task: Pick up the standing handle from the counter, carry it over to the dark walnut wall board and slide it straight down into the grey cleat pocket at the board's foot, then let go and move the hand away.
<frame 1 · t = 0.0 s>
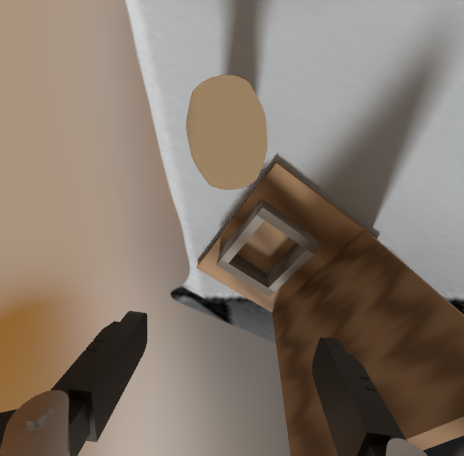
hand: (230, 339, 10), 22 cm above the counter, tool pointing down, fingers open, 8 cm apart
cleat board: (264, 240, 33), on the counter
handle: (237, 133, 27), on the counter
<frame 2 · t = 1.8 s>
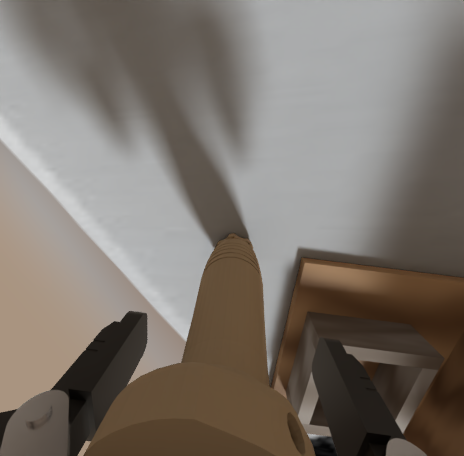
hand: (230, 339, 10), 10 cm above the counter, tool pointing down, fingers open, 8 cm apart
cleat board: (338, 352, 22), on the counter
handle: (234, 248, 19), on the counter
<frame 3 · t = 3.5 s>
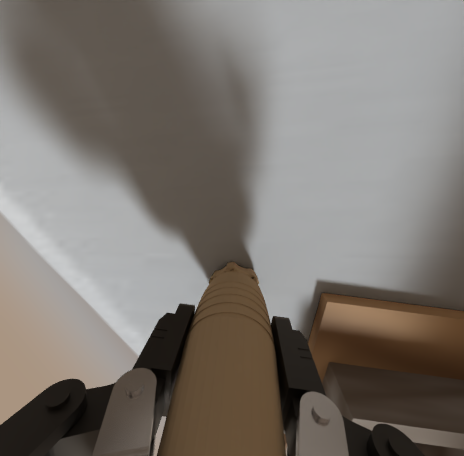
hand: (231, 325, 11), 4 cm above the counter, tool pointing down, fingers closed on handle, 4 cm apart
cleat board: (366, 407, 18), on the counter
handle: (235, 279, 15), on the counter, touching gripper
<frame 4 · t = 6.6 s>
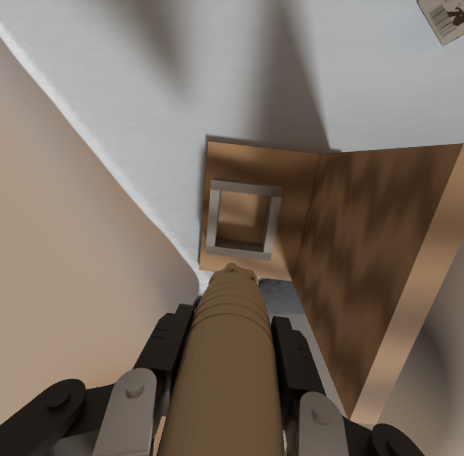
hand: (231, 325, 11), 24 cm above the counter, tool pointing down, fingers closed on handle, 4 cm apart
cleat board: (242, 214, 33), on the counter
handle: (234, 280, 15), point 19 cm above the counter, touching gripper
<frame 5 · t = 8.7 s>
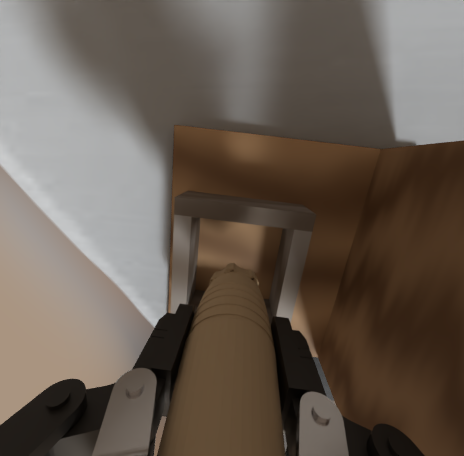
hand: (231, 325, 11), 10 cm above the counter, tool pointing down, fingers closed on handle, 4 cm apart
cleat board: (237, 251, 20), on the counter
handle: (235, 280, 15), point 5 cm above the counter, touching gripper
when the fingers open (6 cm above the counter, at t = 10.1 s): handle stays where it is, resting on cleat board.
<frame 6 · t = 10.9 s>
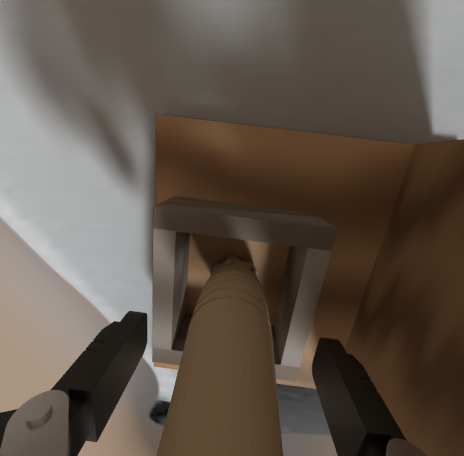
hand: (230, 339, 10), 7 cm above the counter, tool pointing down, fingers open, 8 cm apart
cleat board: (235, 267, 17), on the counter
handle: (235, 272, 16), point 1 cm above the counter, touching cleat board
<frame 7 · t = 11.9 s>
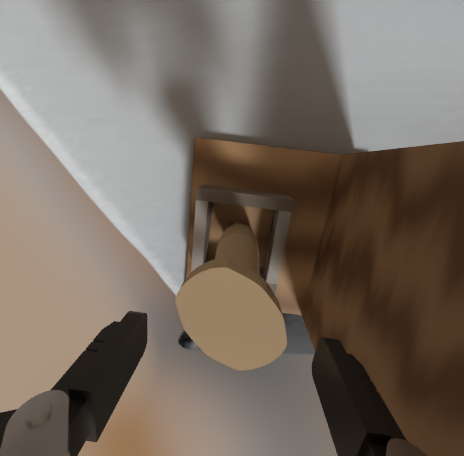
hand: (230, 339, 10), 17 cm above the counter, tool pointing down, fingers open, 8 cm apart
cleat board: (239, 231, 26), on the counter
handle: (239, 232, 26), point 1 cm above the counter, touching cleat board
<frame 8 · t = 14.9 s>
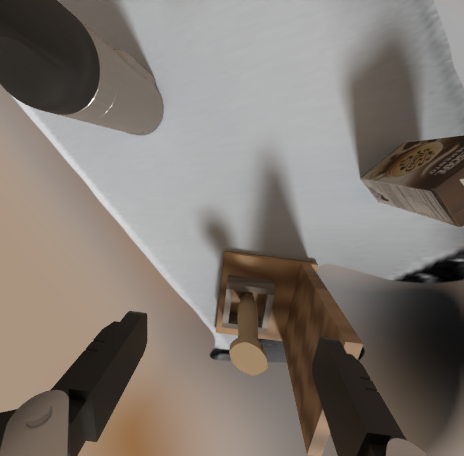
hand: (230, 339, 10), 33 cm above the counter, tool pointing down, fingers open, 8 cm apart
coffee box: (390, 173, 39), on the counter
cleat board: (247, 296, 47), on the counter
handle: (247, 298, 47), point 1 cm above the counter, touching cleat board
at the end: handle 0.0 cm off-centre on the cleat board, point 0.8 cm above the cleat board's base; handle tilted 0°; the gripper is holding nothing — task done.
